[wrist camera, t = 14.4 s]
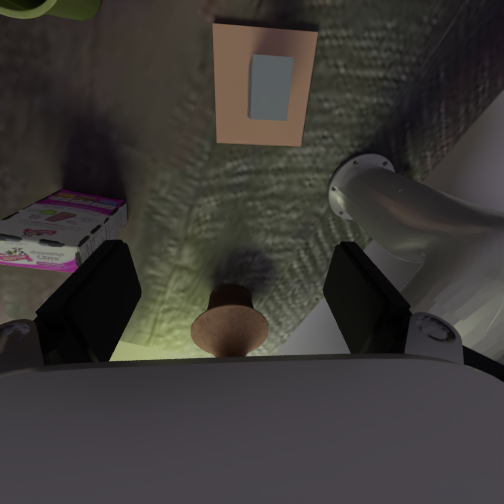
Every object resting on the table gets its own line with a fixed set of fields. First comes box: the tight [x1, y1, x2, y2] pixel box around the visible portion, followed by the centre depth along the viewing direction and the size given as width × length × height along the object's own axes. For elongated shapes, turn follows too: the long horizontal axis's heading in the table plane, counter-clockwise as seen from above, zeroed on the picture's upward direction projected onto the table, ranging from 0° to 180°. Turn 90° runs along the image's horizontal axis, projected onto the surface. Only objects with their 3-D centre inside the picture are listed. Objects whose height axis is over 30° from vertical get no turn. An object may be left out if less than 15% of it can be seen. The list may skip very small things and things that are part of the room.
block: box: [247, 54, 294, 121], centre depth 29 cm, size 4×6×9 cm
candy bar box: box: [0, 189, 128, 273], centre depth 35 cm, size 11×5×16 cm, turn 77°
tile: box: [213, 23, 318, 146], centre depth 34 cm, size 14×14×1 cm
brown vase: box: [191, 284, 268, 357], centre depth 46 cm, size 18×17×28 cm
